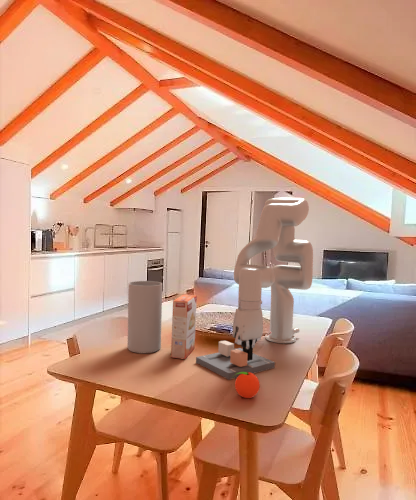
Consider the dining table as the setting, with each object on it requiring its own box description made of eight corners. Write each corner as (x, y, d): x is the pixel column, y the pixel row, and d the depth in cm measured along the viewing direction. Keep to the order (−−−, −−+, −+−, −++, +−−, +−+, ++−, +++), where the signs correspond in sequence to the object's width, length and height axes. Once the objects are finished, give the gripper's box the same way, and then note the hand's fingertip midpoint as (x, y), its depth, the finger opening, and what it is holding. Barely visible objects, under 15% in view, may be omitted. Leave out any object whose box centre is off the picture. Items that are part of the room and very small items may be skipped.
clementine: (227, 398, 114) (228, 373, 113) (235, 389, 120) (235, 365, 120) (255, 404, 111) (256, 378, 110) (261, 394, 117) (262, 370, 117)
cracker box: (186, 360, 144) (188, 301, 143) (170, 358, 146) (171, 300, 144) (195, 348, 158) (197, 294, 157) (180, 346, 159) (182, 293, 158)
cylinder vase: (138, 356, 147) (140, 287, 145) (121, 347, 156) (122, 282, 154) (167, 349, 155) (168, 284, 153) (149, 342, 164) (150, 280, 163)
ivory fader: (224, 351, 147) (225, 340, 147) (233, 355, 143) (234, 344, 143) (218, 352, 146) (218, 341, 145) (227, 356, 142) (227, 345, 141)
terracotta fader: (237, 360, 138) (237, 349, 137) (247, 365, 134) (247, 353, 133) (230, 362, 136) (230, 350, 136) (240, 366, 132) (240, 354, 132)
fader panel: (239, 353, 154) (240, 347, 154) (274, 367, 139) (274, 361, 139) (196, 362, 142) (196, 356, 142) (229, 379, 127) (229, 373, 127)
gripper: (258, 301, 143) (256, 352, 144) (224, 305, 134) (222, 360, 135) (273, 304, 137) (271, 358, 138) (239, 309, 128) (237, 366, 129)
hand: (247, 359), depth 137 cm, fingers closed
